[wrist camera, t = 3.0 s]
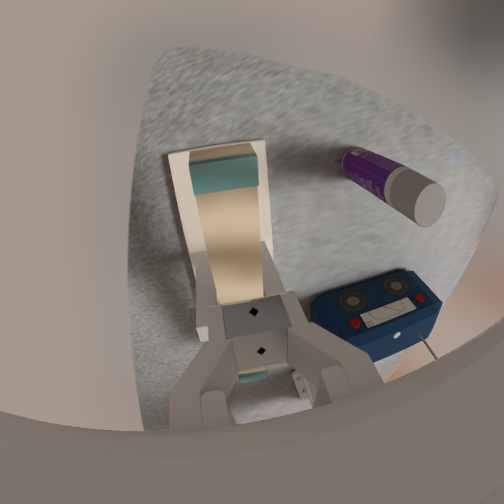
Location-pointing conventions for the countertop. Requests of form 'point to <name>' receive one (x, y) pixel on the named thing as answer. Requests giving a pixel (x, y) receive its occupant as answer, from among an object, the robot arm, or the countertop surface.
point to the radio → (380, 313)
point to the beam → (230, 224)
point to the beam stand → (195, 237)
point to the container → (396, 185)
